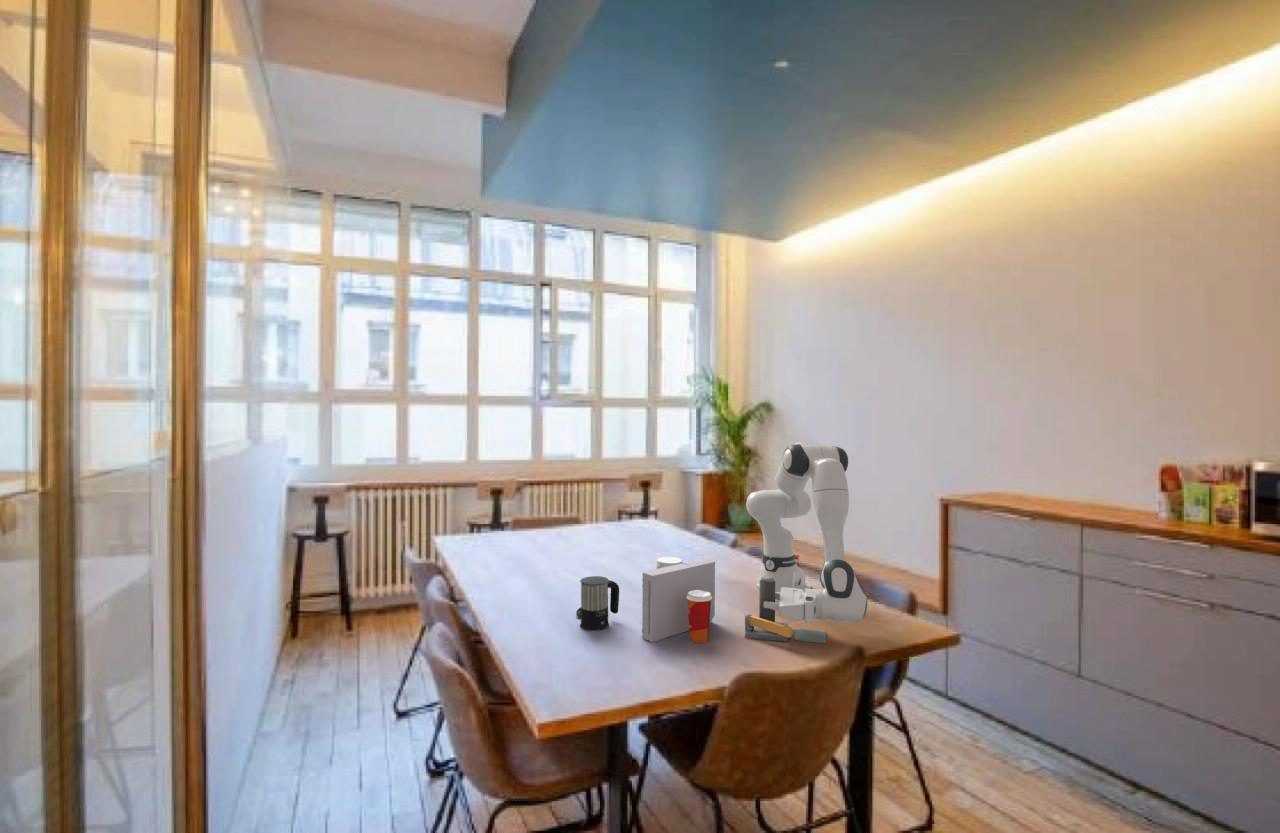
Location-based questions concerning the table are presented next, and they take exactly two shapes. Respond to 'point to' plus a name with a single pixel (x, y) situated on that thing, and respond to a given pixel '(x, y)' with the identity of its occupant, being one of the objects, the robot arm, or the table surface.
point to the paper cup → (699, 615)
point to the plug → (766, 595)
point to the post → (748, 628)
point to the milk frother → (597, 602)
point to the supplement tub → (667, 562)
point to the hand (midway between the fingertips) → (764, 599)
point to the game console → (673, 597)
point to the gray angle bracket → (767, 635)
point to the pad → (810, 635)
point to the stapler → (768, 625)
